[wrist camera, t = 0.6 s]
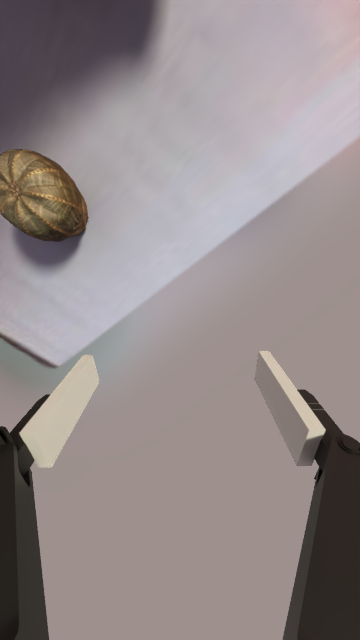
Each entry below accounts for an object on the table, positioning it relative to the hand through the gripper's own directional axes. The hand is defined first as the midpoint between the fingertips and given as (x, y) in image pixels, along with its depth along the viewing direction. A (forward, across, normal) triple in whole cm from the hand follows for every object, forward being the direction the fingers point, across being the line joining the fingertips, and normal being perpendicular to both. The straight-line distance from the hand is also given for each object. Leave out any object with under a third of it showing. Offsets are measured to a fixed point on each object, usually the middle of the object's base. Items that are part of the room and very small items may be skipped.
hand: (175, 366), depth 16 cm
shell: (+27, -20, +15) cm, 37 cm away
